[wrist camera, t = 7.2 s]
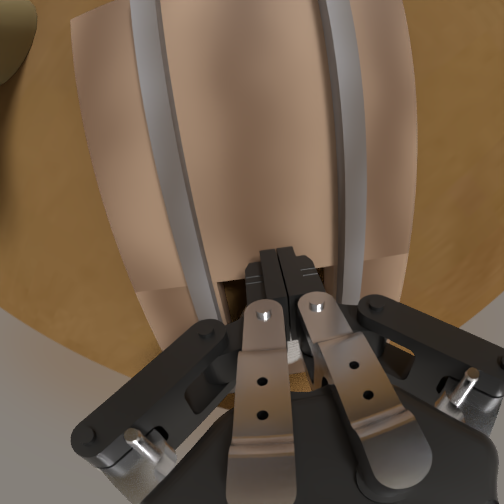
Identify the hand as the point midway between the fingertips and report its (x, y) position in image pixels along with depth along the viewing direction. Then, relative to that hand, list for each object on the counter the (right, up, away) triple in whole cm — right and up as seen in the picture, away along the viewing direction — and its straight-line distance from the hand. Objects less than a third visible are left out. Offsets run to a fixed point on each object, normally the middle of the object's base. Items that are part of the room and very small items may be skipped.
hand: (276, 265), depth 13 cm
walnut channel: (0, +3, +1) cm, 3 cm away
